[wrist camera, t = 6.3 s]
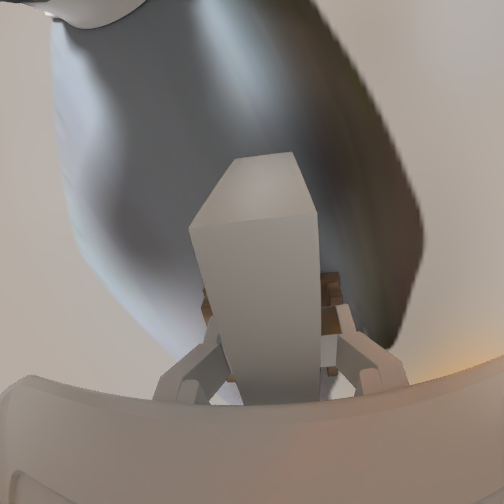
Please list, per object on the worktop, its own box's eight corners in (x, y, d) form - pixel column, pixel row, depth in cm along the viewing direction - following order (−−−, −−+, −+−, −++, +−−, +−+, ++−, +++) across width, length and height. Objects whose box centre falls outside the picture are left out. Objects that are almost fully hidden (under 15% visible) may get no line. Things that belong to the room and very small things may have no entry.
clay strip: (234, 159, 11) (188, 228, 5) (291, 151, 11) (317, 212, 5) (269, 356, 17) (265, 458, 11) (308, 353, 17) (315, 456, 11)
